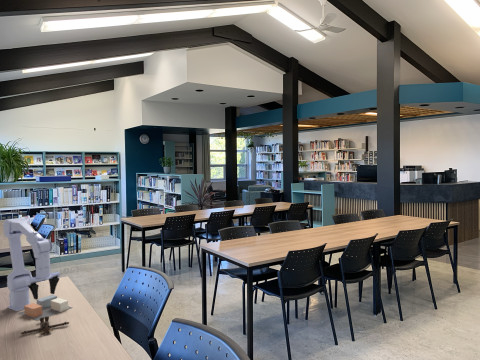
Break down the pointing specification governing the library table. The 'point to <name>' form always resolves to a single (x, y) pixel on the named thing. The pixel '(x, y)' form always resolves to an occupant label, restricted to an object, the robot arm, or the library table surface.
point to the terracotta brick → (33, 310)
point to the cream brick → (59, 304)
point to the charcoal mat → (44, 313)
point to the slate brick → (46, 301)
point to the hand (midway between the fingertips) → (44, 296)
